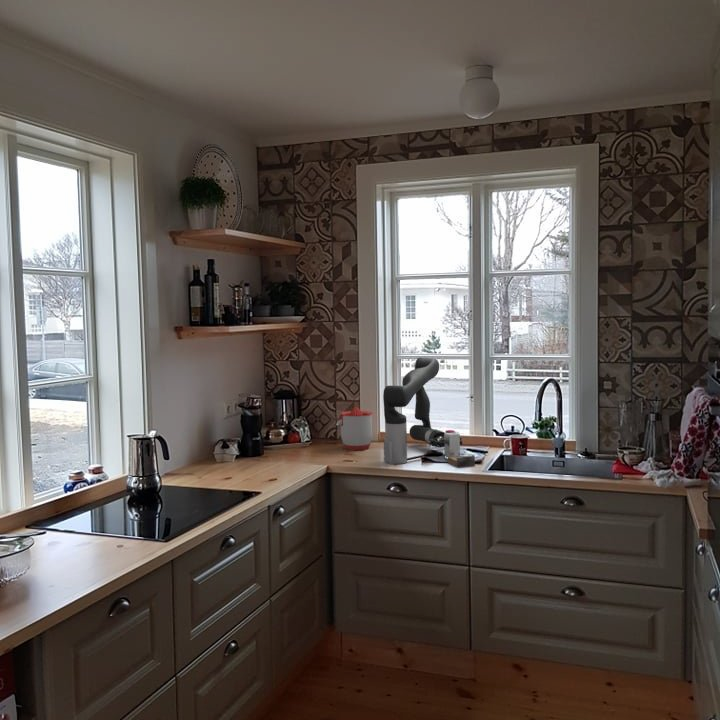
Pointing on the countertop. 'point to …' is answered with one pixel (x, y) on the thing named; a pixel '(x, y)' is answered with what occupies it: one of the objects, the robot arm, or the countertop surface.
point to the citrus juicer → (356, 429)
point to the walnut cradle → (462, 461)
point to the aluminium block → (452, 444)
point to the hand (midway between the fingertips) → (452, 443)
